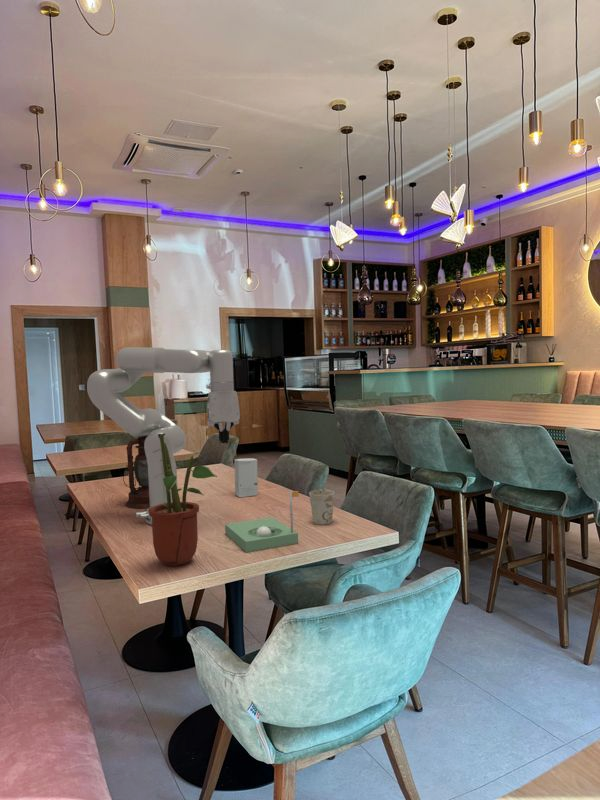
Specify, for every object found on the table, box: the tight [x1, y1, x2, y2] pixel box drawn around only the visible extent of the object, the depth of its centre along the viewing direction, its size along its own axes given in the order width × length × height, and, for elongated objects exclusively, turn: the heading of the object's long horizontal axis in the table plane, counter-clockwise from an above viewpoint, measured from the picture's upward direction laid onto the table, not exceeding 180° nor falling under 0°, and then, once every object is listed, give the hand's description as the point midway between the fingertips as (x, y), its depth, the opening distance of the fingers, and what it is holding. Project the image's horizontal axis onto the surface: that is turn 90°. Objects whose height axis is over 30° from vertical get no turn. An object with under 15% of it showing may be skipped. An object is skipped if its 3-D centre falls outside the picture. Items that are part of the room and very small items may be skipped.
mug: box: [308, 489, 336, 526], centre depth 184 cm, size 8×13×10 cm, turn 27°
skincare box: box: [234, 457, 259, 498], centre depth 224 cm, size 8×6×15 cm
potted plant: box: [149, 433, 218, 567], centre depth 150 cm, size 17×16×35 cm
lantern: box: [122, 435, 150, 510], centre depth 215 cm, size 19×19×30 cm
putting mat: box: [224, 490, 300, 553], centre depth 167 cm, size 17×20×15 cm
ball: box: [256, 526, 271, 535], centre depth 164 cm, size 5×5×5 cm
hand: (224, 442), depth 183 cm, fingers closed
